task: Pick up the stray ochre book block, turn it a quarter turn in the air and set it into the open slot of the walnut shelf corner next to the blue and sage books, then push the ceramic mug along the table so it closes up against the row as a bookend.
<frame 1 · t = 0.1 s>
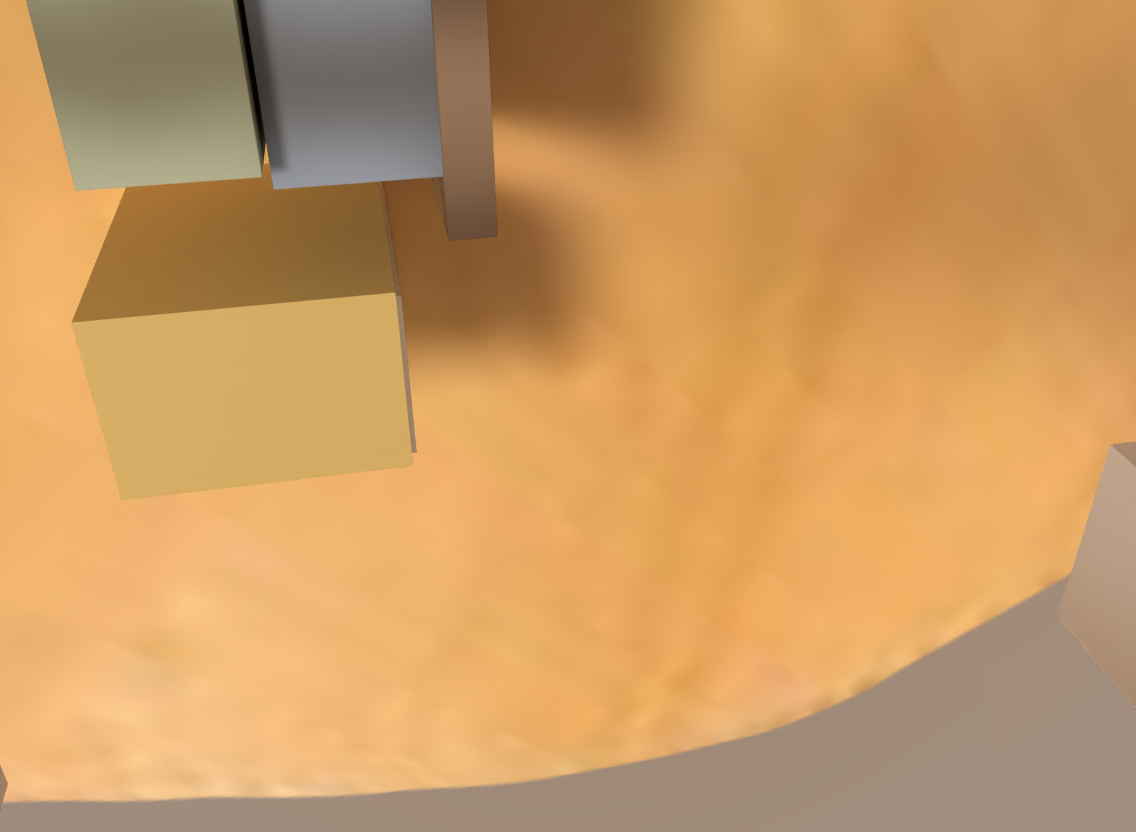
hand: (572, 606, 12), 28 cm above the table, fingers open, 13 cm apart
ochre book: (267, 240, 38), on the table
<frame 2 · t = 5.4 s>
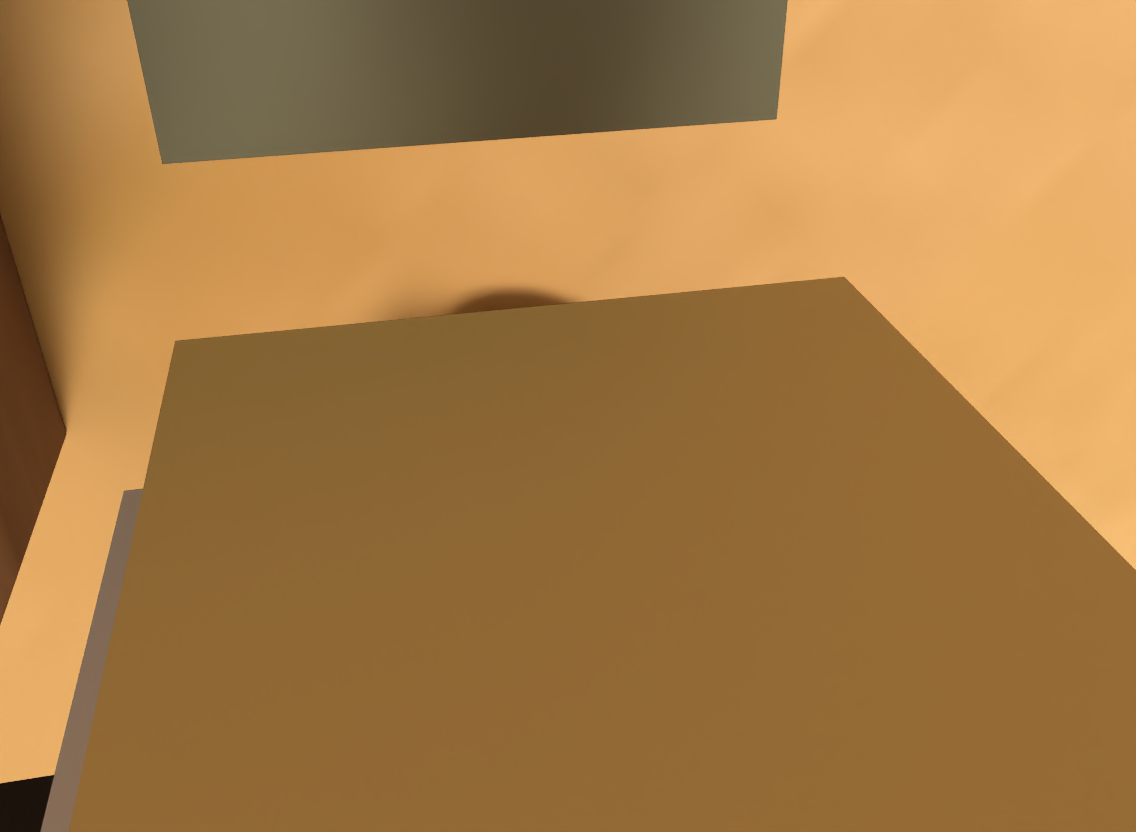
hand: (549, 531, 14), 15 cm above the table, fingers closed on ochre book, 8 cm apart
ochre book: (532, 495, 14), point 14 cm above the table, touching gripper
shelf corner: (431, 112, 25), on the table
when the fingers open (2 cm above the table, at t = 7.9 s): ochre book drops 1 cm, on the table.
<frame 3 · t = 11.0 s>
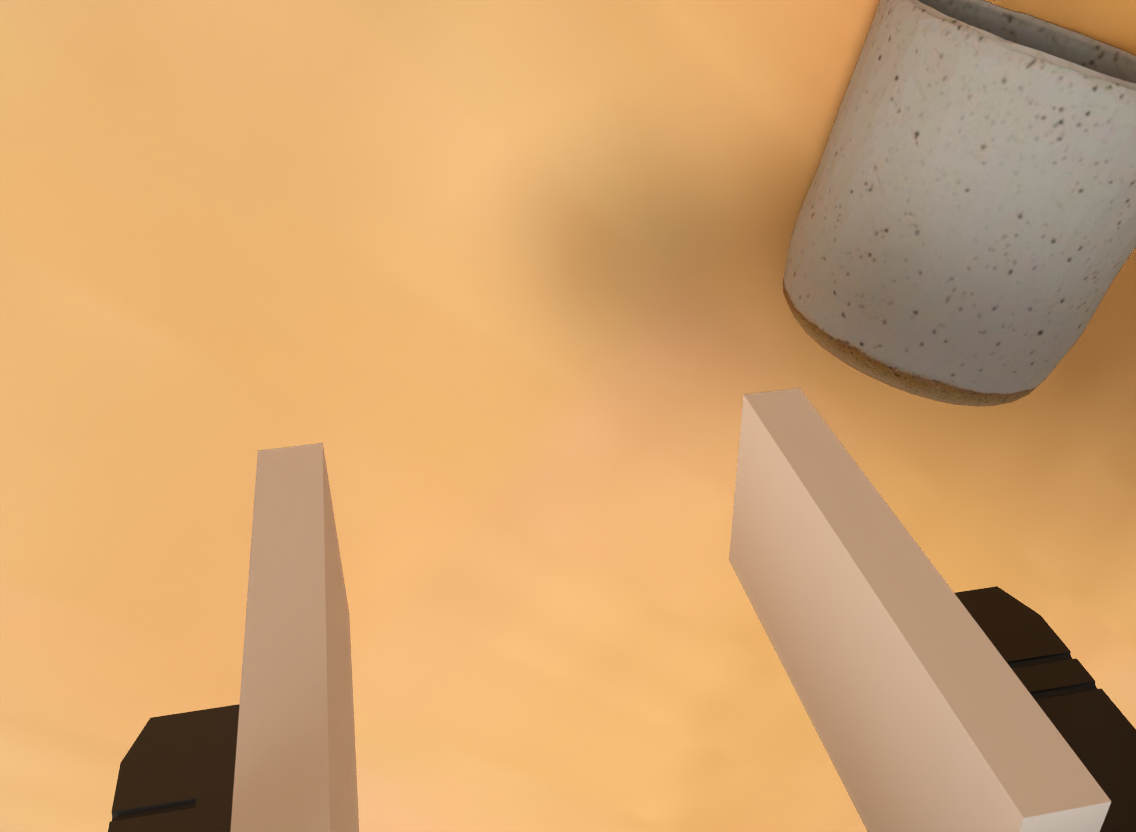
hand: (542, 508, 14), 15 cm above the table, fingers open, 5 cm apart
ceramic mug: (945, 146, 29), on the table, touching ochre book
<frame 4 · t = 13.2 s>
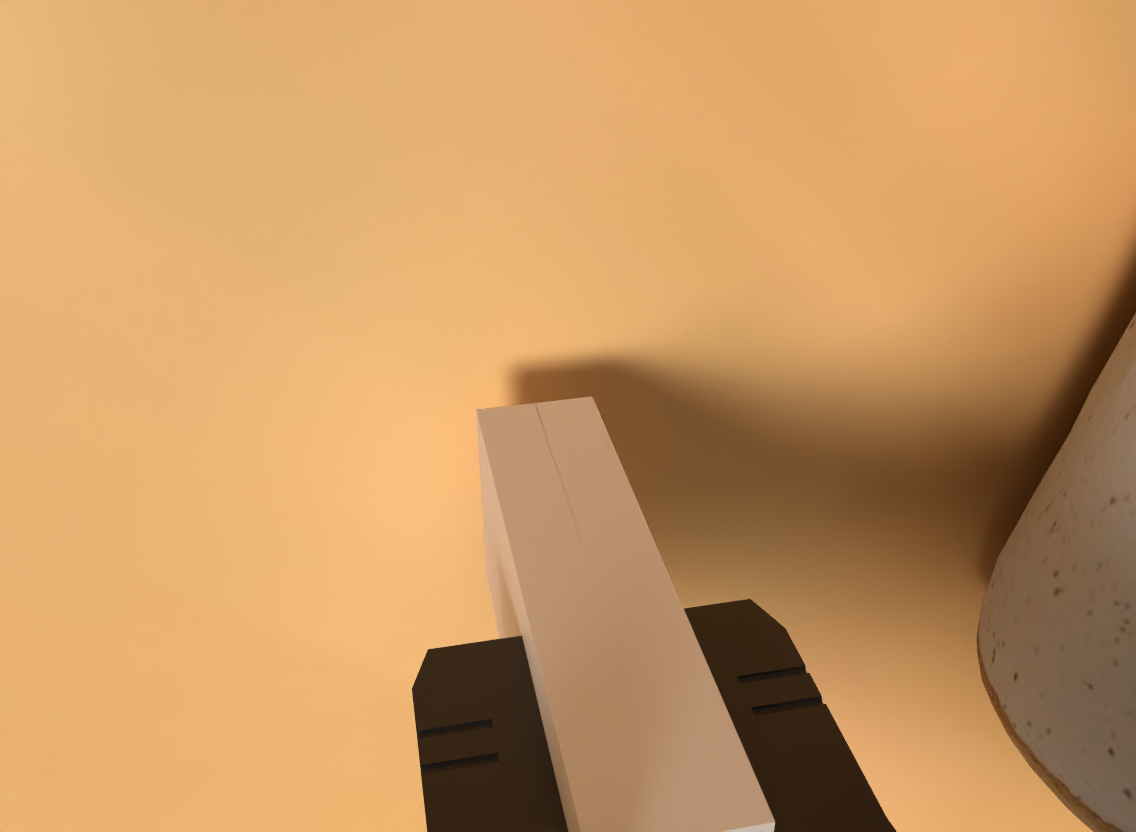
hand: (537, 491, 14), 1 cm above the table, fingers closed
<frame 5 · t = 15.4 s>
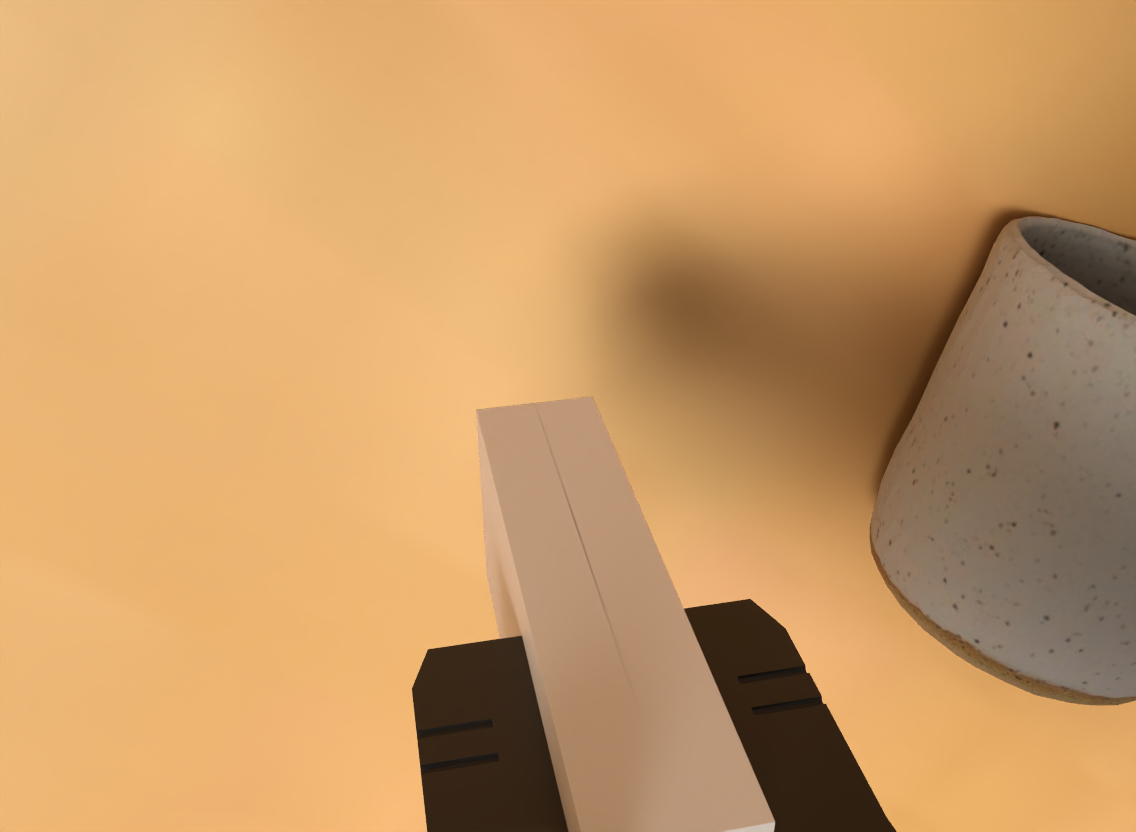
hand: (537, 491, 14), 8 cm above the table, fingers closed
ceramic mug: (1041, 372, 26), on the table, touching ochre book
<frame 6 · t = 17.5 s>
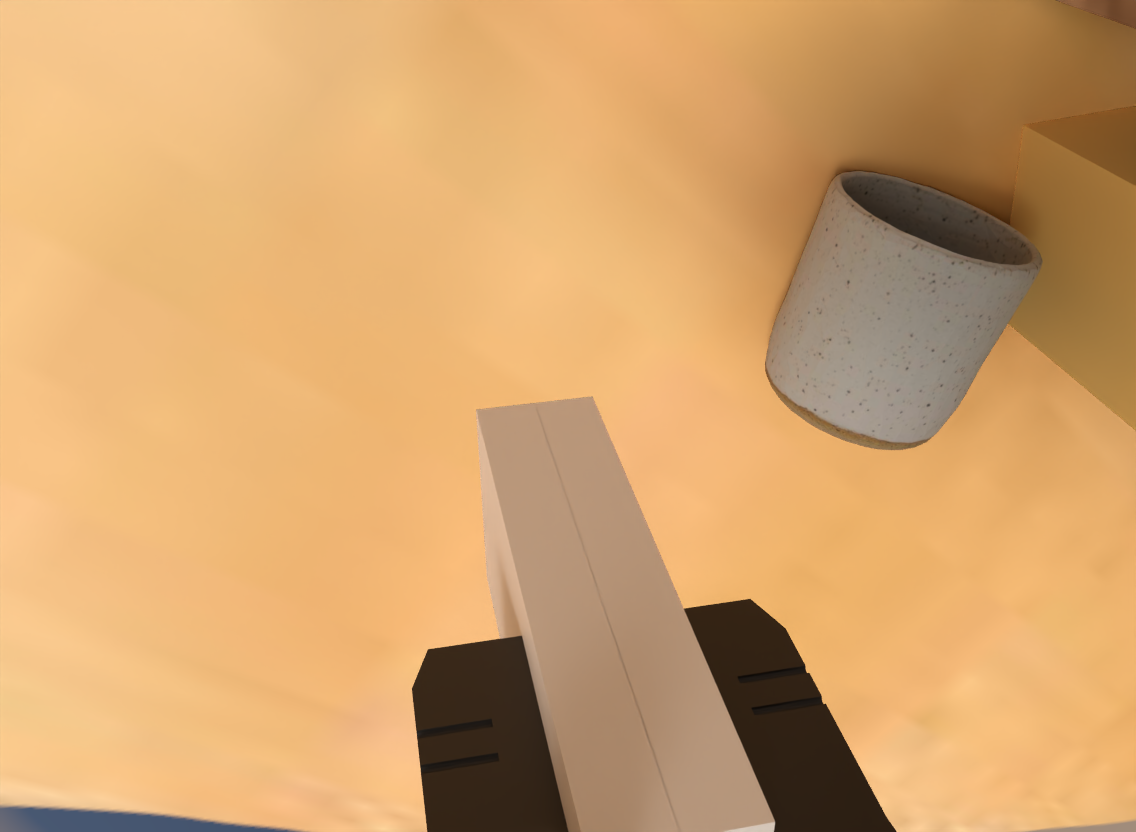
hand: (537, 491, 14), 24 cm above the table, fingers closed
ochre book: (1074, 213, 43), on the table, touching ceramic mug
ceramic mug: (877, 268, 43), on the table, touching ochre book
shelf corner: (1080, 218, 43), on the table
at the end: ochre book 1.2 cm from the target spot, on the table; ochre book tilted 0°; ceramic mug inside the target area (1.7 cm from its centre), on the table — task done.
